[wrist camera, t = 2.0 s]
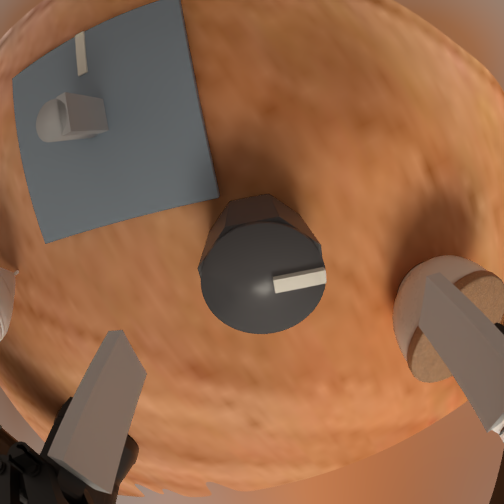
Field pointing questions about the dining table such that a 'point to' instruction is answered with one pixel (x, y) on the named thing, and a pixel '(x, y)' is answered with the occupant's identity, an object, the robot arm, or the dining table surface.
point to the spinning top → (6, 299)
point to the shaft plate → (114, 124)
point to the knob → (261, 266)
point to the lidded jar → (410, 304)
